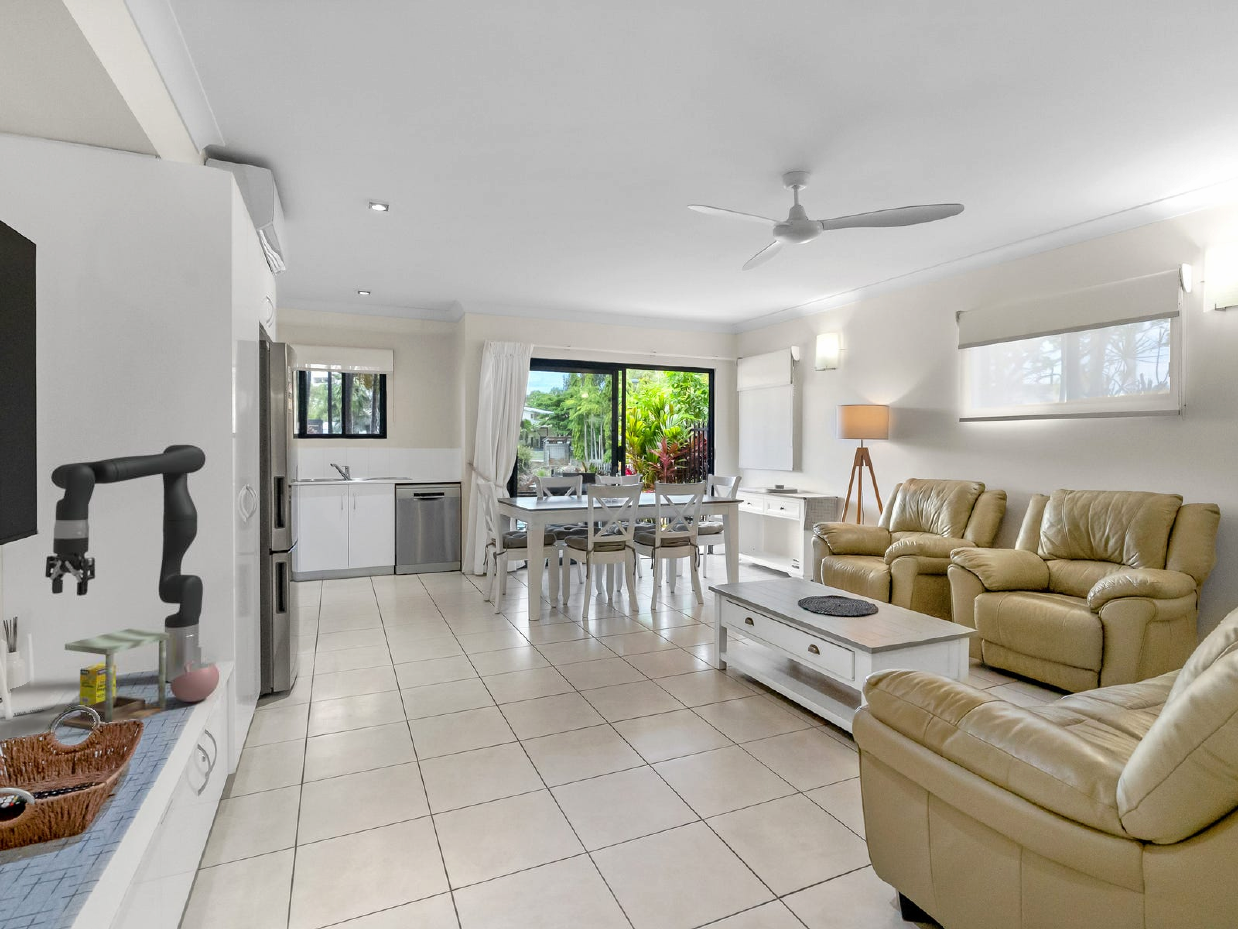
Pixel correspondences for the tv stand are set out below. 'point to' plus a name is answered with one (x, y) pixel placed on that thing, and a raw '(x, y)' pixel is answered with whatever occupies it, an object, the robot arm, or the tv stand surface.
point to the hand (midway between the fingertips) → (69, 594)
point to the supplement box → (94, 684)
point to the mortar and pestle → (195, 683)
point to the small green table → (119, 705)
